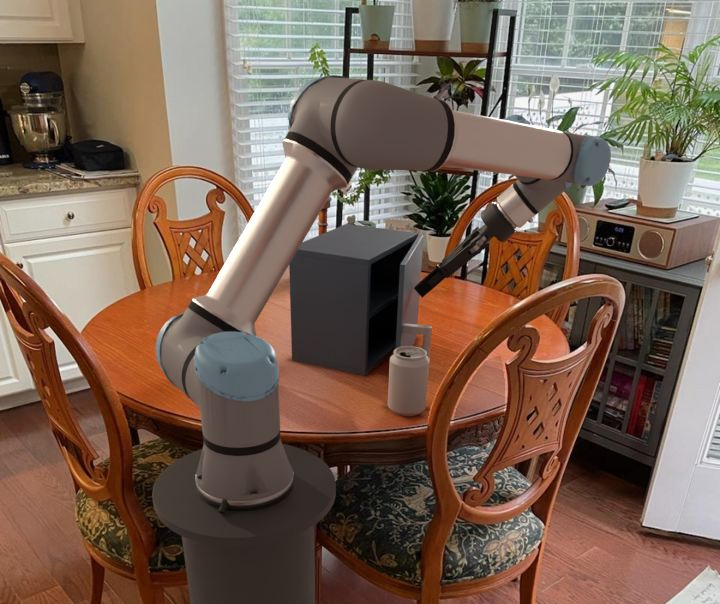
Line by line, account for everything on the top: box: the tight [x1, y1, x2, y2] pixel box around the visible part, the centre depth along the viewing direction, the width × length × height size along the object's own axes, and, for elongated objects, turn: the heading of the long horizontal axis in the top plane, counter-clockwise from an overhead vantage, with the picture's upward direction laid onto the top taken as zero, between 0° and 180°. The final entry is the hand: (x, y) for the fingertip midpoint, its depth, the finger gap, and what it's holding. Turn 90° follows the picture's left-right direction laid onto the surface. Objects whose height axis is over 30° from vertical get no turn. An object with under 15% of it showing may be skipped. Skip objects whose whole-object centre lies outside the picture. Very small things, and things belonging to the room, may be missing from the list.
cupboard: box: [288, 223, 419, 377], centre depth 158 cm, size 18×26×24 cm
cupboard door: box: [396, 233, 433, 359], centre depth 154 cm, size 7×26×24 cm, turn 168°
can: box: [387, 345, 431, 417], centre depth 135 cm, size 8×8×12 cm
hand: (418, 291), depth 153 cm, fingers closed
